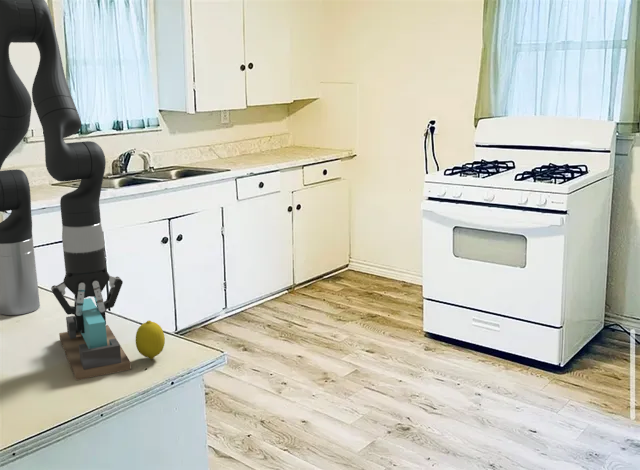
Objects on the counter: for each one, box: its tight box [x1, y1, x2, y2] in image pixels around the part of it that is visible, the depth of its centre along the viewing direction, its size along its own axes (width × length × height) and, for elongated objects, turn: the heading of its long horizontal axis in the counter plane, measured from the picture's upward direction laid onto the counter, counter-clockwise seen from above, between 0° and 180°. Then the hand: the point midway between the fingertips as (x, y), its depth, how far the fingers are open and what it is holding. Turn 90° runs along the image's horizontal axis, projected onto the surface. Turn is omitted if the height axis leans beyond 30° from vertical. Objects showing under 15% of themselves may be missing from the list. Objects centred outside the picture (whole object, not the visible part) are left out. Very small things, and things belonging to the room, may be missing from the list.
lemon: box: [135, 320, 166, 360], centre depth 134 cm, size 6×6×8 cm
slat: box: [80, 297, 107, 349], centre depth 136 cm, size 16×3×6 cm, turn 27°
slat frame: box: [58, 315, 132, 381], centre depth 137 cm, size 22×10×5 cm, turn 28°
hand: (91, 330), depth 136 cm, fingers closed on slat, 3 cm apart
